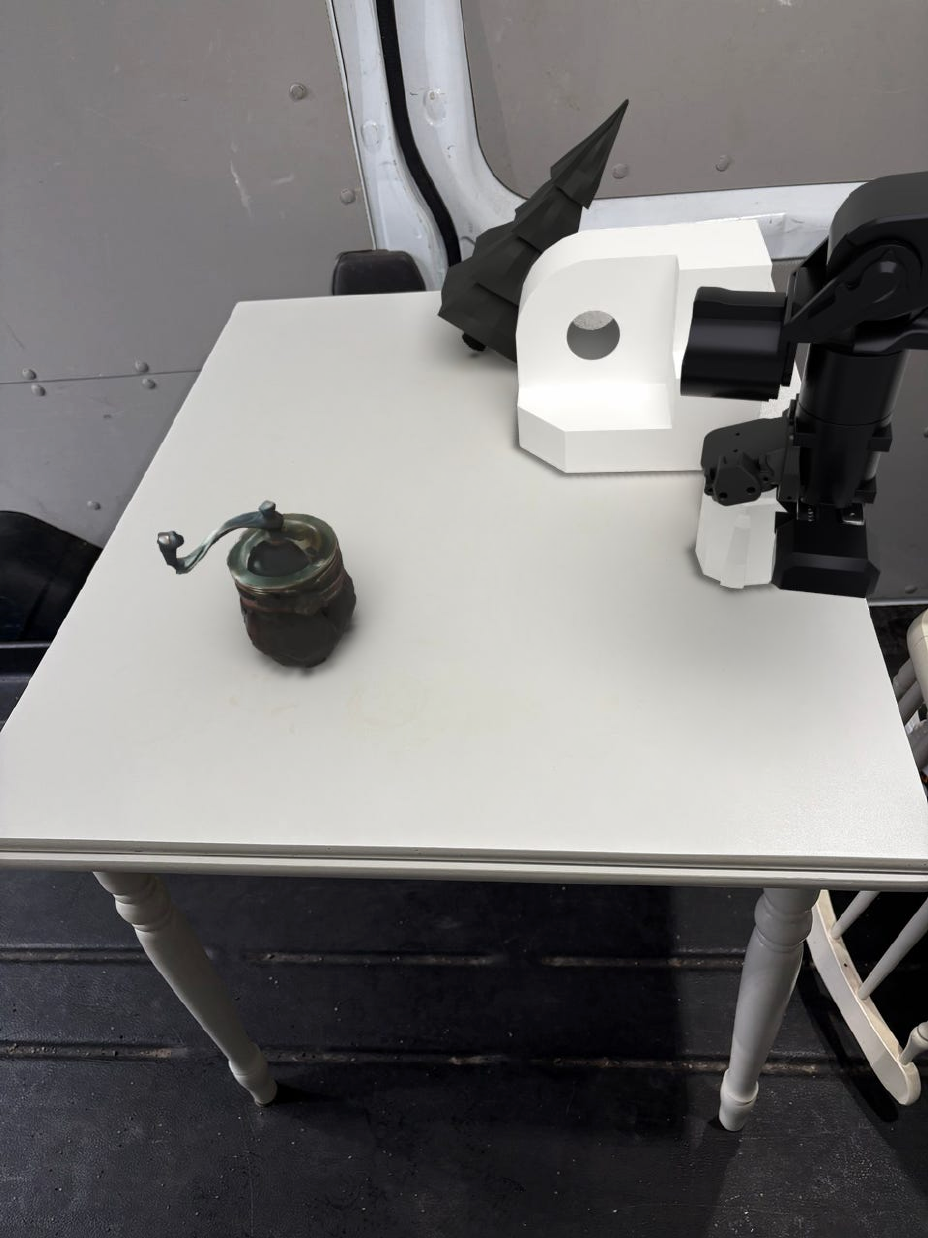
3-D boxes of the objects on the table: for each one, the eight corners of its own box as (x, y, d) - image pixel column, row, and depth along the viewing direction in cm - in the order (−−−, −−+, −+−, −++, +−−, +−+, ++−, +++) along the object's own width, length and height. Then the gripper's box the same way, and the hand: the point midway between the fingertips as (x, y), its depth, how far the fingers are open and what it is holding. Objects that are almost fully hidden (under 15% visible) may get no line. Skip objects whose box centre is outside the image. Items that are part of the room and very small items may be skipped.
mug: (700, 526, 87) (711, 447, 80) (787, 538, 84) (806, 457, 77) (682, 606, 79) (692, 526, 72) (777, 621, 77) (797, 540, 70)
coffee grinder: (196, 662, 81) (124, 516, 68) (315, 579, 87) (269, 432, 75) (274, 730, 74) (210, 583, 61) (396, 635, 81) (361, 484, 68)
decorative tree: (515, 395, 115) (686, 157, 92) (421, 341, 110) (575, 77, 87) (519, 342, 125) (673, 116, 102) (432, 291, 120) (573, 43, 97)
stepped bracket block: (517, 473, 97) (505, 303, 82) (524, 395, 108) (516, 234, 94) (750, 469, 93) (781, 289, 78) (732, 388, 105) (756, 219, 90)
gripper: (725, 327, 62) (705, 496, 73) (702, 478, 49) (683, 654, 61) (890, 332, 59) (843, 507, 70) (909, 494, 46) (848, 675, 58)
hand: (802, 579), depth 64 cm, fingers closed
